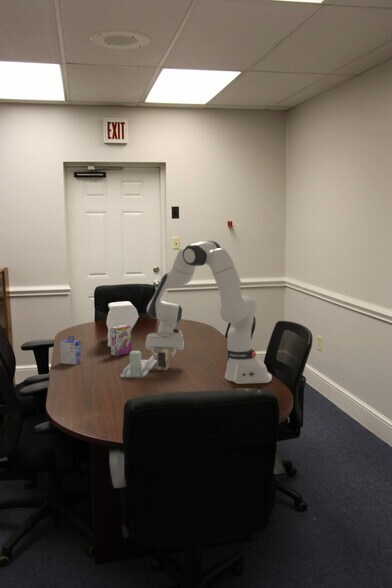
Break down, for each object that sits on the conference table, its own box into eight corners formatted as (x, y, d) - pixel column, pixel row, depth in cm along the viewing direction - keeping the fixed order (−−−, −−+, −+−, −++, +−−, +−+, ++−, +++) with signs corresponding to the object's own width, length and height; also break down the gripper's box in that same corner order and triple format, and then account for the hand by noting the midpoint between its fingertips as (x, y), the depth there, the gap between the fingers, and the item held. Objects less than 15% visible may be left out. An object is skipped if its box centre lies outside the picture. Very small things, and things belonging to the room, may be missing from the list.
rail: (156, 361, 266) (156, 342, 265) (144, 377, 239) (143, 355, 237) (135, 361, 268) (134, 341, 267) (120, 377, 241) (119, 355, 239)
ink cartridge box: (82, 362, 268) (80, 336, 266) (76, 365, 263) (74, 338, 261) (66, 360, 272) (65, 335, 270) (60, 363, 267) (59, 337, 265)
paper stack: (104, 349, 296) (102, 307, 292) (107, 338, 322) (105, 300, 318) (139, 347, 298) (138, 305, 294) (139, 337, 324) (138, 298, 321)
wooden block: (168, 367, 256) (167, 348, 254) (166, 370, 250) (165, 351, 249) (160, 367, 257) (159, 348, 255) (157, 370, 251) (157, 351, 250)
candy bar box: (116, 356, 278) (114, 328, 276) (111, 355, 281) (109, 327, 279) (132, 352, 286) (130, 325, 283) (126, 351, 289) (125, 324, 287)
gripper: (146, 329, 260) (142, 352, 252) (184, 330, 257) (181, 353, 249) (148, 336, 265) (144, 358, 257) (185, 336, 262) (183, 359, 254)
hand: (162, 356), depth 253 cm, fingers open, 8 cm apart
